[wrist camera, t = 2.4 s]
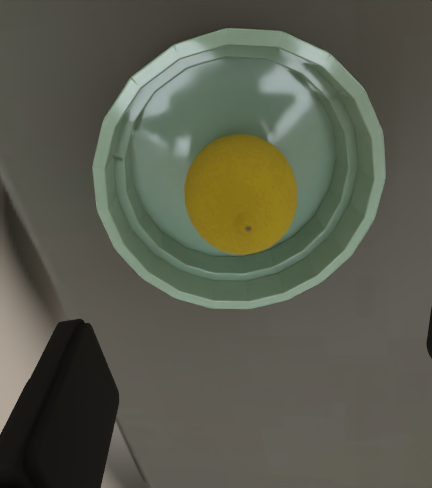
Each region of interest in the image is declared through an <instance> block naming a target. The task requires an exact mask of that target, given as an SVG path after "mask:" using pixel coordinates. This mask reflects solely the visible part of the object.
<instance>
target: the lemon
mask: <svg viewBox="0 0 432 488" xmlns="http://www.w3.org/2000/svg"><path fill="white" fill-rule="evenodd" d="M184 193H185V205H186V209H187V212H188V215H189V218H190V221H191V222H192V224H193V226H194V227H195V229H196V230H197V232H198V233H199V235H200V236H201V237H202V238H203V239H204V240H206V241H207V242H208V243H209V244H210V245H212V246H213V247H215V248H217V249H219V250H221V251H223V252H227V253H231V254H240V255H246V254H252V253H257V252H260V251H262V250H265V249H267V248H269V247H271V246H272V245H274V244H275V243H276V242H278V241H279V240H280V239H281V238H282V237H283V235H284V234H285V233H286V232H287V230H288V229H289V227H290V225H291V223H292V221H293V219H294V216H295V212H296V208H297V184H296V180H295V177H294V173H293V170H292V168H291V166H290V164H289V163H288V161H287V160H286V158H285V156H284V155H283V154H282V153H281V152H280V151H279V150H278V149H277V148H276V147H274V146H273V145H272V144H271V143H269V142H267V141H265V140H263V139H261V138H259V137H257V136H252V135H247V134H233V135H227V136H224V137H221V138H218V139H216V140H214V141H213V142H211V143H210V144H208V145H206V146H205V147H204V148H203V149H202V150H201V151H200V152H199V154H198V155H197V156H196V157H195V158H194V160H193V162H192V164H191V166H190V168H189V170H188V172H187V177H186V181H185V185H184Z"/></svg>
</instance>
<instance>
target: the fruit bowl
mask: <svg viewBox="0 0 432 488" xmlns="http://www.w3.org/2000/svg"><path fill="white" fill-rule="evenodd" d="M233 134H247V135H252V136H257V137H259V138H261V139H263V140H265V141H267V142H269V143H271V144H272V145H273V146H274V147H276V148H277V149H278V150H279V151H280V152H281V153H282V154H283V155H284V156H285V158H286V160H287V161H288V163H289V164H290V166H291V168H292V170H293V173H294V177H295V180H296V184H297V208H296V212H295V216H294V219H293V221H292V223H291V225H290V227H289V229H288V230H287V232H286V233H285V234H284V235H283V237H282V238H281V239H280V240H279V241H278V242H276V243H275V244H274V245H272V246H271V247H269V248H267V249H265V250H262V251H260V252H257V253H252V254H246V255H240V254H231V253H227V252H223V251H221V250H219V249H217V248H215V247H213V246H212V245H210V244H209V243H208V242H207V241H206V240H204V239H203V238H202V237H201V236H200V235H199V233H198V232H197V230H196V229H195V227H194V226H193V224H192V222H191V221H190V218H189V215H188V212H187V209H186V205H185V193H184V185H185V181H186V177H187V172H188V170H189V168H190V166H191V164H192V162H193V160H194V158H195V157H196V156H197V155H198V154H199V152H200V151H201V150H202V149H203V148H204V147H205V146H206V145H208V144H210V143H211V142H213V141H214V140H216V139H218V138H221V137H224V136H227V135H233ZM92 166H93V167H92V171H93V180H94V189H95V198H96V207H97V212H98V214H99V216H100V219H101V221H102V223H103V225H104V227H105V229H106V231H107V234H108V236H109V238H110V240H111V242H112V244H113V247H114V248H115V250H116V251H117V252H118V253H119V254H120V255H121V256H122V258H123V259H124V260H125V261H126V262H127V263H128V264H129V265H130V266H131V267H132V268H133V270H134V271H135V272H136V273H137V274H138V275H139V276H140V277H141V278H142V279H144V280H145V281H147V282H149V283H150V284H152V285H154V286H155V287H157V288H159V289H160V290H162V291H163V292H165V293H167V294H168V295H170V296H172V297H173V298H176V299H179V300H183V301H186V302H190V303H193V304H197V305H201V306H204V307H208V308H212V309H249V308H250V309H252V308H256V307H261V306H265V305H269V304H273V303H278V302H282V301H286V300H289V299H291V298H292V297H294V296H296V295H298V294H300V293H302V292H304V291H306V290H308V289H310V288H312V287H314V286H316V285H317V284H319V283H321V282H323V281H324V280H325V279H326V278H327V277H328V276H329V275H331V274H332V273H333V272H334V271H335V270H336V269H337V268H338V267H339V266H341V265H342V264H343V263H344V262H345V261H346V260H347V259H348V258H349V257H350V256H351V255H352V254H353V253H354V251H355V250H356V248H357V246H358V245H359V243H360V242H361V240H362V238H363V237H364V235H365V234H366V232H367V231H368V229H369V227H370V226H371V224H372V223H373V221H374V219H375V216H376V212H377V208H378V205H379V201H380V197H381V194H382V190H383V187H384V183H385V178H386V171H385V152H384V134H383V130H382V128H381V126H380V123H379V121H378V119H377V116H376V114H375V111H374V109H373V107H372V104H371V102H370V100H369V97H368V95H367V93H366V90H364V87H363V86H362V85H361V84H360V83H359V82H358V81H357V80H356V79H355V78H354V77H353V76H352V75H351V74H350V73H349V72H348V71H347V70H346V69H345V68H344V67H343V66H342V65H341V64H340V63H339V62H338V61H337V60H336V58H335V57H334V56H333V55H332V54H330V53H329V52H327V51H325V50H323V49H320V48H318V47H316V46H314V45H312V44H310V43H307V42H305V41H303V40H301V39H299V38H296V37H294V36H292V35H290V34H288V33H285V32H283V31H275V30H258V29H241V28H224V29H221V30H218V31H214V32H211V33H208V34H205V35H201V36H198V37H195V38H192V39H189V40H185V41H182V42H179V43H176V44H174V45H172V46H170V47H169V48H168V49H167V50H165V51H164V52H163V53H161V54H160V55H159V56H157V57H156V58H155V59H153V60H152V61H151V62H150V63H148V64H147V65H146V66H144V67H143V68H142V69H140V70H139V71H138V72H136V73H135V74H134V75H133V76H132V77H131V78H130V79H129V80H128V82H127V83H126V85H125V86H124V88H123V90H122V91H121V93H120V94H119V96H118V97H117V99H116V100H115V102H114V104H113V105H112V107H111V108H110V110H109V111H108V113H107V114H106V116H105V118H104V121H103V122H102V126H101V130H100V134H99V139H98V143H97V147H96V152H95V156H94V160H93V165H92Z"/></svg>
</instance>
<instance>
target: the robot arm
mask: <svg viewBox="0 0 432 488" xmlns="http://www.w3.org/2000/svg"><path fill="white" fill-rule="evenodd" d="M427 349H428V353H429V355H430V356H431V358H432V308H431V315H430V323H429V330H428V337H427ZM118 405H119V393H118V389H117V387H116V384H115V382H114V379H113V377H112V374H111V372H110V370H109V367H108V365H107V362H106V360H105V357H104V355H103V352H102V350H101V348H100V345H99V343H98V340H97V338H96V335H95V333H94V330H93V328H92V326H91V324H90V323H85V322H84V321H83V320H82V319H76V320H69V321H63V322H59V323H58V324H57V326H56V328H55V330H54V332H53V334H52V336H51V338H50V340H49V342H48V344H47V346H46V348H45V350H44V352H43V354H42V356H41V358H40V360H39V362H38V364H37V366H36V368H35V370H34V372H33V374H32V376H31V378H30V379H29V380H28V382H27V383H26V385H25V387H24V389H23V391H22V393H21V395H20V397H19V399H18V401H17V403H16V405H15V407H14V409H13V411H12V413H11V415H10V417H9V419H8V421H7V423H6V425H5V427H4V429H3V430H2V432H1V434H0V488H101V483H102V478H103V474H104V469H105V465H106V460H107V456H108V451H109V446H110V442H111V437H112V433H113V428H114V424H115V419H116V415H117V410H118Z"/></svg>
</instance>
